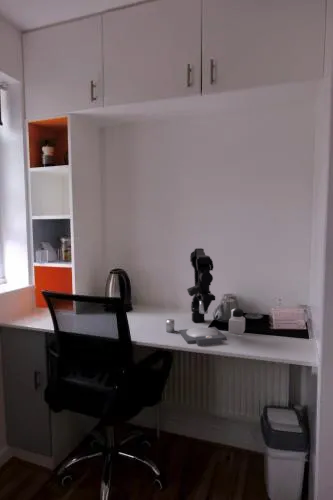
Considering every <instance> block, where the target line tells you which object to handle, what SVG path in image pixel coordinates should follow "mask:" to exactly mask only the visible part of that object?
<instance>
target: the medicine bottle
mask: <svg viewBox="0 0 333 500" xmlns="http://www.w3.org/2000/svg"><path fill="white" fill-rule="evenodd" d="M230 311H231V312H230V315H231V316H230V318H229V320H228V333H230V334H235V335H243V333H244V332H245V330H246V317H244V310H243V309H241V308H233V309H231V310H230Z"/></svg>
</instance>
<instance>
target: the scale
mask: <svg viewBox="0 0 333 500" xmlns="http://www.w3.org/2000/svg"><path fill="white" fill-rule="evenodd" d="M178 333H179V334H180V336H181V337H182V339H183V340H184V341H185V342H186V343H187V344H196V345H197V346H198V347H203V345H204V346H210V345H211V346H213V345H212V344H214V345H221V344H222V345H223V341H227V340H228V338H227V336H226V335H225V334H224V333H223V332H221V331H220V329H218V328H217V327H216V326H212V327H210V326H209V327H203V326H199V327H197V326H196V327H192V328H187V329H179V330H178Z"/></svg>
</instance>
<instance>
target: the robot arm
mask: <svg viewBox="0 0 333 500" xmlns="http://www.w3.org/2000/svg"><path fill="white" fill-rule="evenodd" d="M204 250H205V249H204V248H201V247H200V248H199V247H198V248H194V250H193V251H192V252H190V255H189V257H190V258H189V261H190V263H191V267H192V268H193V271H194V274H193V276H194V285H193V286H192V287H189V288H186V291H187V294H188V296H190V297H192V298H191V300H192V301H191V302H190V311H191V312H192V313H191V320H192V322H193V323H195V324H198V323H199V324H200V323H206V320H205V314H201V313H199V301H202V302H203V308H204V312H207V310H208V311H209V308H210V305H211V304H212V302H213V301H216V296H215V294H213V293H212V292H211V290H210V286H211V284H212V282H213V280H214V277H213V275H212V273H211V271H214V263H213V260H212V258H211V257H210V256H209V255H206V253H205V251H204Z"/></svg>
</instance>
